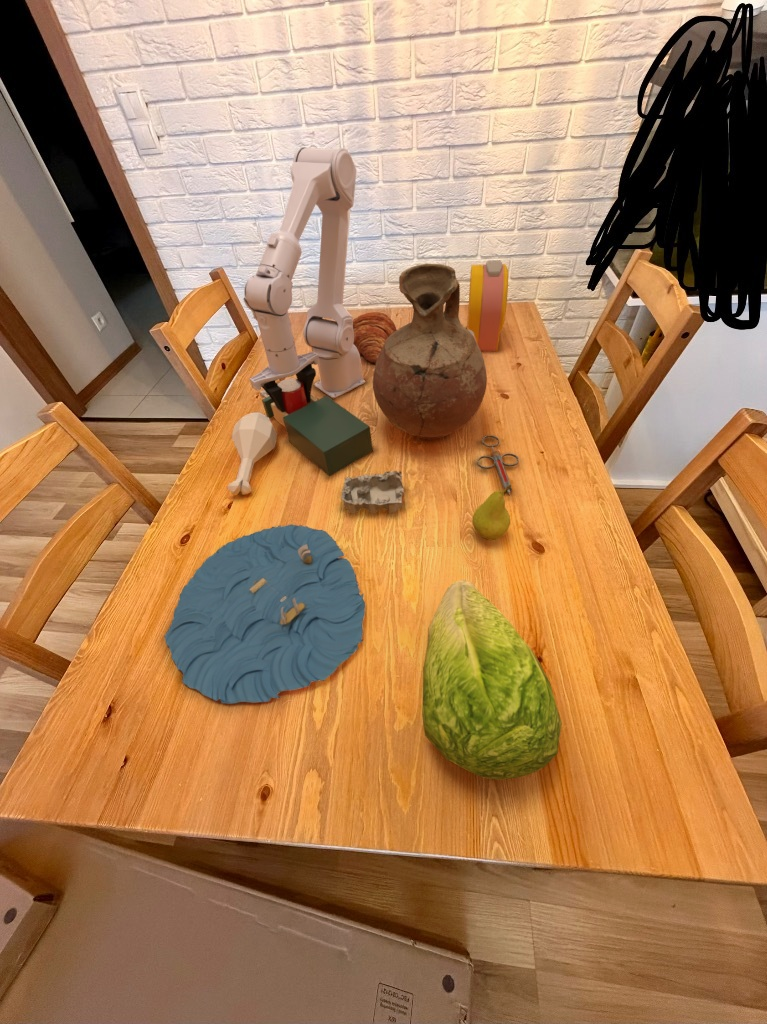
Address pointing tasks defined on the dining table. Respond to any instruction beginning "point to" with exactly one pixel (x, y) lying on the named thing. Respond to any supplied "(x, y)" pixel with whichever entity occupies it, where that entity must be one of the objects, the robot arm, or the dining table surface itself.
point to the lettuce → (486, 691)
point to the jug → (430, 359)
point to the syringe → (498, 463)
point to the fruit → (492, 516)
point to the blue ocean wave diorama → (267, 616)
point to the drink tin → (293, 395)
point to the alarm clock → (487, 303)
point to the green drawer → (272, 409)
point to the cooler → (328, 435)
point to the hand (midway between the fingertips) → (294, 406)
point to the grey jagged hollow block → (373, 492)
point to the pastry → (372, 333)
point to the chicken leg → (251, 447)
